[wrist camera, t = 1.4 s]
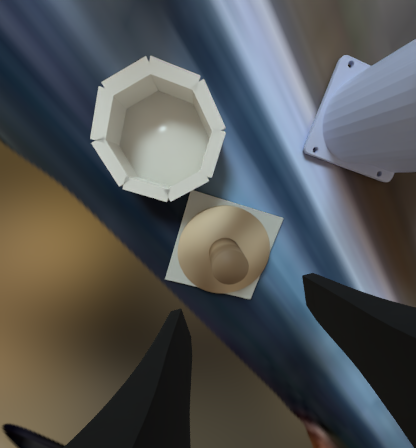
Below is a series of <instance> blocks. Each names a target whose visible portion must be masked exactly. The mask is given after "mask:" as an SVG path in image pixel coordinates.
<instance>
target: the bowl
mask: <svg viewBox="0 0 416 448" xmlns="http://www.w3.org/2000/svg"><path fill="white" fill-rule="evenodd" d="M101 83H102V84H103V86H104V88H103V87H100V86H99V87H98V94H97V100H96V106H95V112H94V118H93V124H92V131H91V137H90V139H93V140H96V141H94V142H92V143H91V144H92V145H93V147H94V148H95V150H96V151H97V153H98V155H99V156H100V158H101V159H102V161H103V162H104V164H105V165H106V167H107V169H108V170H109V172H110V173H111V175H112V176H113V178H114V179H115V181H116V183H117V184H118V186H123V189H124V190H127V191H131V192H134V193H137V194H141V195H144V196H147V197H151V198H154V199H158V200H161V201H164V202H167V201H168V200H170V201H173V200H175V199H177V198H179V197H181V196H182V195H184V194H186V193H188V192H190V191H192V190H194V189H195V188H197V187H199V186H201V185H203V184H205V183H207V182H208V181H209V179H208V178H207V177H209V178H212V176H213V173H214V169H215V166H216V163H217V160H218V156H219V153H220V150H221V147H222V143H223V140H224V137H225V134H226V132H224V129H225V128H226V127H225V125H224V123H223V121H222V118H221V116H220V114H219V112H218V109H217V107H216V105H215V103H214V101H213V98H212V96H211V94H210V92H209V89H208V87H207V85H206V83H205V80H204V79H203V80H201V81H200V75H198V74H195V73H193V72H190V71H188V70H185V69H183V68H180V67H178V66H175V65H173V64H170V63H168V62H165V61H163V60H160V59H158V58H155V57H153V56H150V60H149V61H148V59H147V57H146V56H145V57H143V58H141V59H140V60H138V61H136V62H135V63H133V64H131V65H130V66H128V67H126V68H124V69H123V70H121V71H119V72H118V73H116V74H114V75H113V76H111V77H109V78H107V79H106V80H104V81H102V82H101Z"/></svg>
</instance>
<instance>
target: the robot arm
mask: <svg viewBox="0 0 416 448" xmlns="http://www.w3.org/2000/svg"><path fill="white" fill-rule="evenodd" d="M348 63H349V64H350V68H349V67H348ZM313 148H315V149H316V151H315V153H314V152H313ZM303 151H304V153H305V154H308V155H310V156H313V157H316V158H318V159H321V160H324V161H327V162H329V163H332V164H335V165H337V166H340V167H343V168H346V169H348V170H351V171H354V172H356V173H359V174H362V175H365V176H367V177H370V178H373V179H375V180H378V181H381V182H389V181H390V180H391V179H392V177H393V175H394V174H395V173H398V172H416V39H415V40H413V41H412V42H410V43H408V44H407V45H405V46H403V47H402V48H400V49H398V50H397V51H395V52H394V53H392V54H390V55H389V56H387V57H385V58H384V59H382V60H380V61H379V62H377V63H376V64H374V65H372V66H370V65H368V64H366V63H364V62H361V61H359V60H357V59H355V58H353V57H351V56H349V55H344V56H343V57H341V58H340V59H339V60H338V62H337V65H336V67H335V70H334V72H333V75H332V77H331V80H330V82H329V85H328V87H327V90H326V92H325V95H324V97H323V100H322V102H321V105H320V107H319V110H318V112H317V115H316V117H315V120H314V122H313V125H312V127H311V130H310V132H309V135H308V137H307V140H306V142H305V145H304V148H303ZM377 173H378V175H377ZM302 277H303V284H304V291H305V298H306V305H307V307H308V308H309V310H310V311H311V313H312V314H313V316H314V317H315V319H316V320H317V321H318V323H319V324H320V325H321V326H322V327H323V329H324V330H325V331H326V332H327V333H328V334H329V336H330V337H331V338H332V339H333V340H334V341H335V342H336V344H337V345H338V346H339V347H340V348H341V349H342V350H343V352H344V353H345V354H346V355H347V356H348V357H349V358H350V360H351V361H352V362H353V363H354V364H355V366H356V367H357V368H358V369H359V371H360V372H361V373H362V375H363V376H364V377H365V379H366V380H367V382H368V383H369V384H370V386H371V387H372V388H373V390H374V391H375V392H376V394H377V395H378V397H379V398H380V399H381V401H382V402H383V404H384V405H385V406H386V408H387V409H388V411H389V412H390V413H391V415H392V416H393V418H394V419H395V420H396V422H397V423H398V425H399V426H400V428H401V429H402V431H403V432H404V434H405V435H406V437H407V438H408V439H409V441H410V442H411V444H412V445H413V447H414V448H416V308H415V307H411V306H407V305H403V304H400V303H396V302H392V301H389V300H385V299H382V298H379V297H376V296H373V295H370V294H367V293H364V292H361V291H358V290H356V289H353V288H350V287H348V286H345V285H342V284H340V283H337V282H335V281H332V280H330V279H327V278H325V277H322V276H320V275H317V274H314V273H311V274H307V275H303V276H302ZM191 369H192V346H191V336H190V333H189V330H188V327H187V324H186V321H185V319H184V315H183V312H182V310H181V309H178V310H174V311H171V312H170V314H169V316H168V317H167V319H166V321H165V323H164V325H163V326H162V328H161V330H160V332H159V333H158V335H157V337H156V338H155V340H154V342H153V344H152V345H151V347H150V348H149V350H148V351H147V353H146V354H145V356H144V358H143V359H142V361H141V362H140V363H139V365H138V366H137V367H136V369H135V370H134V372H133V373H132V374H131V375H130V377H129V378H128V379H127V381H126V382H125V383H124V384H123V386H122V387H121V388H120V389H119V390H118V391H117V393H116V394H115V395H114V396H113V397H112V399H111V400H110V401H109V402H108V403H107V404H106V405H105V406H104V407H103V409H102V410H101V411H100V412H99V413H98V414H97V415H96V416H95V417H94V418H93V419H92V420H91V421H90V422H89V423H88V424H87V425H86V426H85V427H84V428H83V429H82V430H81V431H80V432H79V433H78V434H77V435H76V436H75V437H74V438H73V439H72V440H71V441H70V442H69V443H68V444H67V445H66V446H65V447H64V448H190V418H189V416H190V413H189V411H190V389H191Z"/></svg>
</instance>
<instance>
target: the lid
mask: <svg viewBox="0 0 416 448" xmlns="http://www.w3.org/2000/svg"><path fill="white" fill-rule="evenodd" d="M269 253H270V242H269V237H268V234H267V232H266V230H265V228H264V226H263V225H262V223H261V222H260V221H259V220H258V219H257V218H256V217H255V216H254V215H252V214H251V213H249V212H248V211H246V210H244V209H242V208H239V207H236V206H230V205H219V206H213V207H210V208H207V209H205V210H203V211H201V212H199V213H198V214H196V215H195V216H194V217H193V218H192V219H191V220H190V221H189V222H188V223H187V224H186V226H185V227H184V229H183V231H182V233H181V236H180V239H179V244H178V260H179V264H180V267H181V269H182V271H183V273H184V274H185V276H186V277H187V278H188V279H189V280H190V282H192V283H193V284H194V285H195V286H197V287H199V288H201V289H203V290H205V291H209V292H213V293H230V292H234V291H238V290H240V289H243V288H245V287H246V286H248V285H250V284H251V283H252V282H254V281H255V280H256V279H257V278H258V277H259V275H260V274H261V273H262V271H263V270H264V268H265V266H266V264H267V261H268V258H269Z"/></svg>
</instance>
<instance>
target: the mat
mask: <svg viewBox="0 0 416 448" xmlns="http://www.w3.org/2000/svg"><path fill="white" fill-rule="evenodd" d="M219 205H230V206H236V207H239V208H242V209H244V210H246V211H248V212H249V213H251V214H252V215H254V216H255V217H256V218H257V219H258V220H259V221H260V222H261V223H262V225H263V226H264V228H265V230H266V232H267V234H268V237H269V242H270V250H271V248H272V245H273V243H274V240H275V238H276V236H277V233H278V231H279V228H280V226H281V223H282V221H283V219H284V218H282V217H279V216H275V215H272V214H269V213H266V212H262V211H259V210H256V209H253V208H249V207H246V206H243V205H240V204H237V203H233V202H230V201H227V200H224V199H220V198H217V197H214V196H211V195H207V194H204V193H201V192H198V191H195V190H192V191H190V195H189V198H188V202H187V205H186V209H185V212H184V216H183V219H182V223H181V226H180V229H179V233H178V236H177V240H176V243H175V247H174V250H173V254H172V257H171V261H170V264H169V267H168V271H167V274H166V278H165V279H166V280H170V281H174V282H179V283H183V284H187V285H191V286H195V285H194V284H193V283H192V282H190V280H189V279H188V278H187V277H186V276H185V274H184V273H183V271H182V269H181V267H180V264H179V260H178V244H179V239H180V236H181V233H182V231H183V229H184V227H185V226H186V224H187V223H188V222H189V221H190V220H191V219H192V218H193V217H194V216H195V215H196V214H198V213H199V212H201V211H203V210H205V209H207V208H210V207H213V206H219ZM260 275H261V274H260ZM260 275H259V277H260ZM259 277H258V278H257V279H256V280H255V281H254V282H252V283H251V284H250V285H248V286H246V287H245V288H243V289H240V290H238V291H234V292H230V293H225V294H229V295H233V296H238V297H242V298H246V299H251V297H252V294H253V292H254V289H255V287H256V284H257V282H258V280H259ZM196 287H197V286H196Z"/></svg>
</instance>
